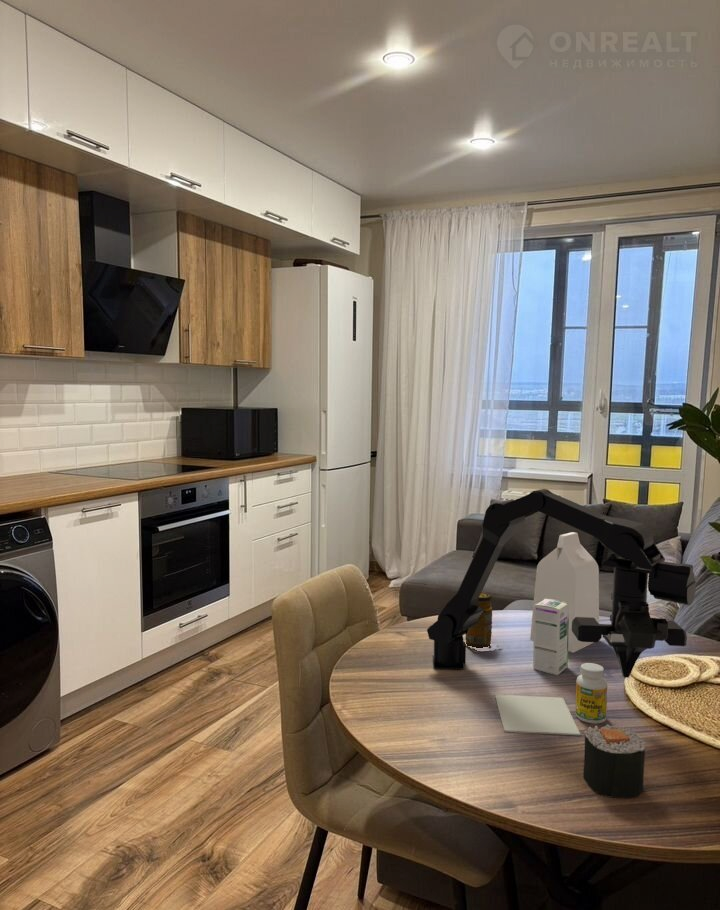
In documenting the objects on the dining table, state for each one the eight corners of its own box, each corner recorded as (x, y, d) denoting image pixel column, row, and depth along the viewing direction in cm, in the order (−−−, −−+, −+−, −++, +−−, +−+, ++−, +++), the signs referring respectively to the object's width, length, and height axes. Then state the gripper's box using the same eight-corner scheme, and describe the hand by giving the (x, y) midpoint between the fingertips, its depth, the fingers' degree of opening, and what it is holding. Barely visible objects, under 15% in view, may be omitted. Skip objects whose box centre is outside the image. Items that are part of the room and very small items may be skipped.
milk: (556, 627, 170) (560, 527, 168) (599, 640, 162) (603, 534, 160) (530, 638, 162) (533, 533, 160) (573, 652, 154) (577, 541, 152)
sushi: (652, 797, 98) (655, 745, 98) (597, 799, 98) (600, 747, 97) (626, 767, 106) (628, 719, 106) (575, 769, 106) (577, 720, 105)
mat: (504, 731, 117) (504, 730, 117) (495, 696, 131) (495, 694, 131) (580, 735, 116) (580, 733, 116) (562, 699, 130) (562, 697, 130)
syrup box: (558, 676, 141) (560, 609, 140) (531, 669, 144) (533, 603, 143) (568, 667, 145) (570, 602, 144) (542, 660, 149) (544, 597, 148)
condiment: (483, 637, 163) (485, 589, 162) (502, 649, 155) (504, 599, 154) (457, 641, 161) (458, 592, 160) (475, 653, 153) (476, 602, 152)
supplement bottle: (605, 713, 125) (607, 663, 124) (606, 726, 119) (609, 674, 119) (575, 708, 126) (577, 659, 125) (575, 722, 121) (577, 670, 120)
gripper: (588, 605, 113) (583, 693, 114) (702, 609, 111) (696, 699, 113) (572, 586, 124) (569, 667, 126) (676, 590, 123) (671, 672, 124)
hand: (625, 676), depth 122 cm, fingers closed
